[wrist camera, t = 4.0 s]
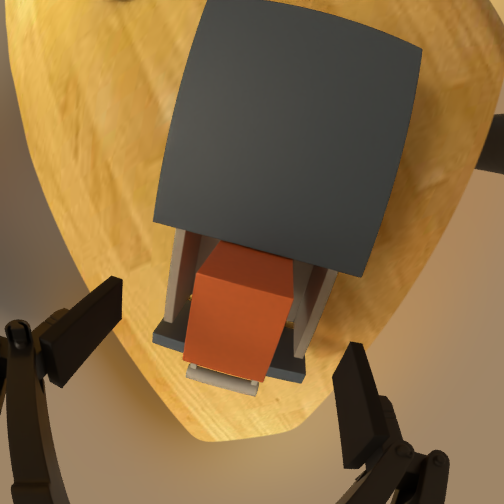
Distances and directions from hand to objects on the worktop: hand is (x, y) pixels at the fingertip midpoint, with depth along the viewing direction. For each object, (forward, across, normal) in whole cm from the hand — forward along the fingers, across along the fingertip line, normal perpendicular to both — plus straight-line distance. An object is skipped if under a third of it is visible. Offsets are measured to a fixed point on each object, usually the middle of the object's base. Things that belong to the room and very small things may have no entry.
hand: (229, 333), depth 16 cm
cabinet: (+14, 0, +12) cm, 18 cm away
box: (+12, 0, 0) cm, 12 cm away
